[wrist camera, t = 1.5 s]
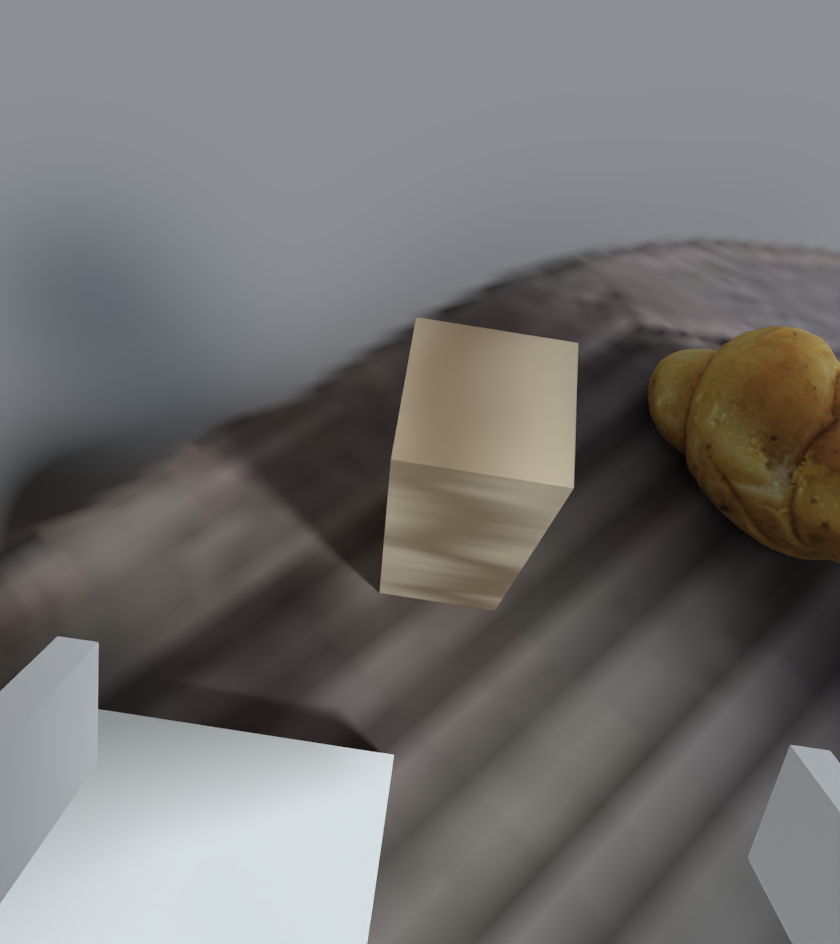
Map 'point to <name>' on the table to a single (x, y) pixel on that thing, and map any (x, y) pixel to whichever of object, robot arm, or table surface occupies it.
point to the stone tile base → (207, 842)
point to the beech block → (477, 460)
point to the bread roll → (760, 434)
